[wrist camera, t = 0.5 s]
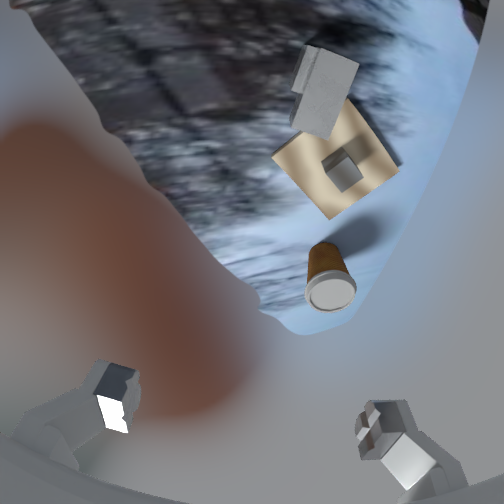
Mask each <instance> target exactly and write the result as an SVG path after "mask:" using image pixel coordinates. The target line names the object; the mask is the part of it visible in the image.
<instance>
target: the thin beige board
mask: <svg viewBox="0 0 504 504" xmlns="http://www.w3.org/2000/svg"><path fill="white" fill-rule="evenodd" d="M271 158H272V159H273V160H274V161H275V162H276V163H277V164H278V165H279V166H280V167H281V168H282V169H283V170H284V171H285V172H286V173H287V174H288V176H289V177H290V178H291V179H292V180H293V181H294V182H295V183H296V184H297V185H298V186H299V187H300V188H301V189H302V191H303V192H304V193H305V194H306V195H307V196H308V197H309V198H310V199H311V200H312V202H313V203H314V204H315V205H316V206H317V207H318V208H319V209H320V210H321V212H322V213H323V214H324V215H325V216H326V217H327V218H328V219H329V220H330V219H332V218H333V217H335V216H336V215H338V214H339V213H341V212H342V211H343V210H345V209H346V208H348V207H349V206H351V205H352V204H354V203H355V202H356V201H358V200H359V199H361V198H362V197H364V196H365V195H367V194H368V193H369V192H371V191H372V190H374V189H375V188H377V187H378V186H379V185H381V184H382V183H384V182H385V181H387V180H388V179H389V178H391V177H392V176H394V175H395V174H397V173H398V172H399V169H398V168H397V166H396V165H395V163H394V162H393V160H392V159H391V157H390V156H389V154H388V153H387V151H386V150H385V148H384V147H383V145H382V144H381V142H380V141H379V139H378V138H377V137H376V135H375V134H374V132H373V131H372V129H371V128H370V127H369V125H368V124H367V123H366V121H365V120H364V119H363V117H362V116H361V115H360V113H359V112H358V111H357V109H356V108H355V107H354V105H353V104H352V103H351V102H350V100H349V99H348V98H347V97H346V99H345V101H344V104H343V106H342V109H341V111H340V113H339V116H338V118H337V121H336V123H335V125H334V128H333V130H332V133H331V135H330V137H329V140H325V139H322V138H320V137H317V136H314V135H311V134H309V133H306V132H303V131H300V132H299V133H298V134H297V135H295V136H294V137H293V138H292V139H290V140H289V141H288V142H286V143H285V144H284V145H283V146H281V147H280V148H279V149H278V150H277V151H275V152H274V153H273V154H272V155H271Z"/></svg>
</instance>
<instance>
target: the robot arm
mask: <svg viewBox="0 0 504 504" xmlns="http://www.w3.org/2000/svg"><path fill="white" fill-rule="evenodd" d="M139 378H140V377H139V371H138V370H135V369H131V368H128V367H124V366H121V365H118V364H114V363H111V362H108V361H105V360H101V359H98V360H97V361H95V363H94V365H93V366H92V368H91V370H90V371H89V373H88V375H87V376H86V378H85V380H84V381H83V383H82V385H81V386H80V388H79V389H76V388H75V389H73V390H71V391H69V392H67V393H64V394H62V395H60V396H58V397H56V398H54V399H52V400H50V401H48V402H46V403H44V404H42V405H39V406H37V407H35V408H33V409H31V410H29V411H26V412H25V413H24V415H23V416H22V418H21V420H20V421H19V423H18V424H17V426H16V428H15V429H14V431H13V433H12V434H11V436H10V437H8V436H6V435H5V434H3V433H1V432H0V504H189V503H184V502H180V501H174V500H170V499H165V498H161V497H157V496H153V495H149V494H145V493H142V492H138V491H134V490H131V489H128V488H125V487H121V486H118V485H115V484H112V483H109V482H106V481H103V480H100V479H98V478H95V477H92V476H90V475H87V474H84V473H82V472H79V471H78V469H79V464H78V463H77V461H76V459H75V458H74V456H73V454H72V452H73V451H74V450H76V449H77V448H78V447H80V446H81V445H83V444H84V443H86V442H87V441H88V440H90V439H91V438H93V437H94V436H95V435H97V434H98V433H99V432H101V431H102V430H104V429H105V428H106V427H108V428H112V429H115V430H118V431H122V432H126V433H128V431H129V429H130V426H131V424H132V421H133V415H132V412H134V411H136V410H137V408H138V405H139V402H140V397H141V386H140V385H139V383H138V380H139ZM364 408H365V411H364V412H362V413H361V414H359V416H358V418H357V419H356V424H355V434H356V437H357V438H358V439H359V440H360V441H361V442H360V444H359V446H358V448H359V452H360V457H361V460H376V459H381V461H382V462H383V464H384V465H385V466H386V467H387V468H388V469H389V471H390V472H391V473H392V474H393V475H394V477H395V478H396V479H397V480H398V481H399V482H400V484H401V485H402V486H403V487H404V488H405V489H406V492H405V493H404V494H402V495H401V496H400V497H399V498H398V499H397V504H504V473H503V474H501V475H498V476H496V477H493V478H491V479H488V480H485V481H483V482H480V483H477V484H474V485H471V486H469V485H468V483H467V480H466V477H465V474H464V472H463V469H462V467H461V464H460V462H459V461H458V460H456V459H455V458H454V457H453V456H451V455H450V454H449V453H448V452H447V451H445V450H444V449H443V448H442V447H440V446H439V445H438V444H437V443H436V442H434V441H433V440H432V439H431V438H430V437H428V436H427V435H426V434H425V433H424V432H422V431H418V428H417V426H416V423H415V421H414V418H413V415H412V413H411V410H410V408H409V405H408V403H407V401H406V400H370V401H368V402H367V403H366V405H365V406H364Z"/></svg>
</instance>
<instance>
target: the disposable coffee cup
mask: <svg viewBox="0 0 504 504" xmlns="http://www.w3.org/2000/svg"><path fill="white" fill-rule="evenodd" d="M356 288H357V287H356V283H355V281H354V279H353V278H352V277H351V276H350V274H349V272H348V270H347V268H346V265H345V263H344V261H343V259H342V257H341V255H340V253H339V250H338V248H337V247H336V246H335V245H333V244H331V243H326V242H325V243H319V244H317V245H315V246H314V247H313V248H312V249H311V250H310V252H309V261H308V277H307V285H306V288H305V299H306V300H307V302H308V303H309V305H310V306H311V307H312V308H313V309H315V310H316V311H319V312H323V313H333V312H338V311H341V310H343V309H345V308H346V307H348V306H349V305H350V304H351V303H352V301H353V300H354V297H355V293H356Z"/></svg>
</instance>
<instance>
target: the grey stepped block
mask: <svg viewBox="0 0 504 504" xmlns="http://www.w3.org/2000/svg"><path fill="white" fill-rule="evenodd" d="M358 67H359V63H357V62H354V61H352V60H350V59H347V58H345V57H343V56H340V55H338V54H335V53H333V52H330V51H328V50H325V49H322V48H315V47H312V46H310V45H303V47H302V49H301V52H300V55H299V57H298V60H297V63H296V66H295V68H294V71H293V74H292V77H291V79H290V82H289V86H290V88H291V90H292V91H295V92H298V95H297V98H296V101H295V103H294V106H293V109H292V112H291V114H290V117H289V121H290V125H291V128H294V129H297V130H300V131H303V132H306V133H309V134H311V135H314V136H317V137H320V138H322V139H325V140H329V137H330V135H331V133H332V130H333V128H334V125H335V123H336V121H337V118H338V116H339V113H340V111H341V109H342V106H343V104H344V101H345V99H346V96H347V94H348V91H349V89H350V87H351V84H352V82H353V79H354V77H355V74H356V72H357V69H358Z"/></svg>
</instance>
